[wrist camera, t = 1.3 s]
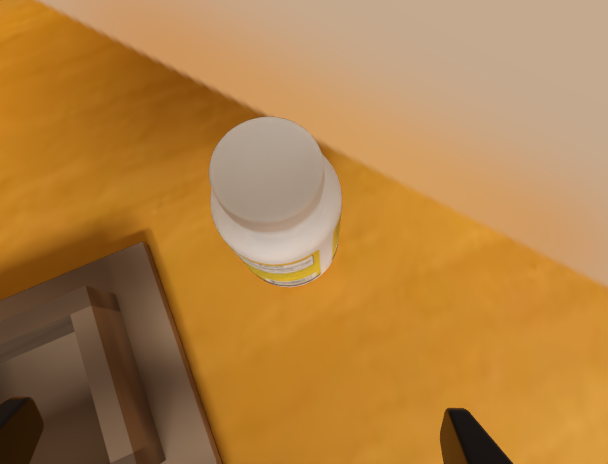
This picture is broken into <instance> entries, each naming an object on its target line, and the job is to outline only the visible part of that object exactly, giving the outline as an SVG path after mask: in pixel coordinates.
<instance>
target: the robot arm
mask: <svg viewBox="0 0 608 464" xmlns="http://www.w3.org/2000/svg"><path fill="white" fill-rule="evenodd" d="M43 428H44V420H43V418H42V416H41V414H40V411H39V409H38V407H37V405H36V403H35V401H34V399H33V398H31V397H20V396H15V397H11V398H9V399H7V400H6V401H4V402H3V403H1V404H0V464H30V462H31V459H32V457H33V454H34V452H35V449H36V447H37V445H38V442H39V440H40V437H41V435H42V432H43ZM440 444H441V450H442V456H443V462H444V464H513V463H512V462H511V460H510V459H509V458H508V457H507V456H506V455H505V453H504V452H503V451H502V450H501V449H500V448H499V446H498V445H497V444H496V443H495V442H494V440H493V439H492V438H491V437H490V436H489V435H488V433H487V432H486V431H485V430H484V429H483V428H482V426H481V425H480V424H479V423H478V422H477V421H476V419H475V418H474V417H473V416H472V415H471V413H470V412H469V411H468V410H466V409H464V408H447V409H446V410H445V413H444V418H443V422H442V427H441V431H440Z"/></svg>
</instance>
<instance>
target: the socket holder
mask: <svg viewBox="0 0 608 464" xmlns="http://www.w3.org/2000/svg"><path fill="white" fill-rule="evenodd" d="M15 396H20V397H31V398H33V399H34V401H35V403H36V405H37V407H38V409H39V411H40V414H41V416H42V418H43V420H44V428H43V432H42V435H41V437H40V440H39V442H38V445H37V447H36V449H35V452H34V454H33V457H32V459H31V462H30V464H222V462H221V459H220V456H219V453H218V450H217V447H216V444H215V441H214V438H213V435H212V432H211V429H210V426H209V423H208V420H207V417H206V414H205V411H204V408H203V406H202V403H201V400H200V397H199V394H198V391H197V388H196V385H195V382H194V379H193V376H192V373H191V370H190V367H189V364H188V361H187V358H186V355H185V352H184V349H183V346H182V344H181V341H180V338H179V335H178V332H177V329H176V326H175V323H174V320H173V317H172V314H171V311H170V308H169V305H168V302H167V299H166V296H165V293H164V290H163V287H162V284H161V281H160V279H159V276H158V273H157V270H156V267H155V264H154V261H153V258H152V255H151V252H150V249H149V246H148V245H147V244H146V243H144V242H143V241H142V242H140V243H137V244H135V245H132V246H130V247H128V248H125V249H123V250H121V251H118V252H116V253H113V254H111V255H109V256H106V257H104V258H101V259H99V260H97V261H94V262H92V263H89V264H87V265H85V266H82V267H80V268H77V269H75V270H73V271H70V272H68V273H65V274H63V275H61V276H58V277H56V278H53V279H51V280H49V281H46V282H44V283H41V284H39V285H37V286H34V287H32V288H29V289H27V290H25V291H22V292H20V293H17V294H15V295H13V296H10V297H8V298H5V299H3V300H1V301H0V404H1V403H3V402H4V401H6V400H7V399H9V398H11V397H15Z"/></svg>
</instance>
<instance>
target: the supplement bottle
mask: <svg viewBox="0 0 608 464" xmlns="http://www.w3.org/2000/svg"><path fill="white" fill-rule="evenodd" d="M209 178H210V184H211V187H212V190H211V198H210V204H211V212H212V217H213V220H214V223H215V226H216V228H217V230H218V231H219V233H220V235H221V236H222V238H223V239H224V241H225V242H226V243H227V244H228V245H229V247H230V248H231V249H232V250H233V251H234V252H235V253H236V254H237V255H238V256H239V258H240V259H241V260H242V261H243V262H244V263H245V264H246V265H247V266H248V267H249V269H250V270H251V271H252V272H253V273H254V274H256V275H257V276H258V277H260V278H261V279H263V280H264V281H266V282H268V283H270V284H273V285H276V286H281V287H295V286H301V285H304V284H307V283H309V282H311V281H313V280H315V279H316V278H318V277H319V276H320V275H322V274H323V273H324V272H325V271H326V269H327V268H328V267H329V266H330V264H331V262H332V260H333V258H334V256H335V253H336V250H337V246H338V239H339V229H340V219H341V210H342V193H341V186H340V182H339V179H338V176H337V174H336V172H335V170H334V168H333V167H332V165H331V164H330V162H329V161H328V160H327V159H326V158H325V156H324V155H323V154H322V153H321V150H320V148H319V146H318V144H317V142H316V140H315V139H314V138H313V136H312V135H311V134H310V133H309V132H308V131H307V130H306V129H304V128H303V127H301V126H300V125H298V124H296V123H295V122H292V121H290V120H287V119H284V118H278V117H260V118H254V119H251V120H248V121H245V122H243V123H241V124H239V125H237V126H236V127H234V128H233V129H231V130H230V131H229V132H228V133H227V134H226V135H225V136H224V137H223V138H222V139H221V140H220V141H219V143H218V144H217V146H216V148H215V150H214V152H213V154H212V157H211V161H210V167H209Z"/></svg>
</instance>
